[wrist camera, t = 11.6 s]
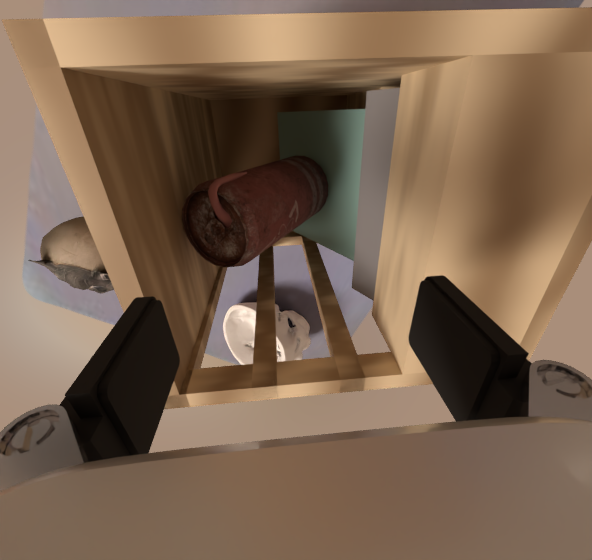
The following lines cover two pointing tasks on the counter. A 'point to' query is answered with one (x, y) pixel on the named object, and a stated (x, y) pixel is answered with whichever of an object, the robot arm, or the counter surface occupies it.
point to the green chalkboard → (348, 176)
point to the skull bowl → (243, 333)
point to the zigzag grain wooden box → (265, 149)
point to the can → (252, 209)
